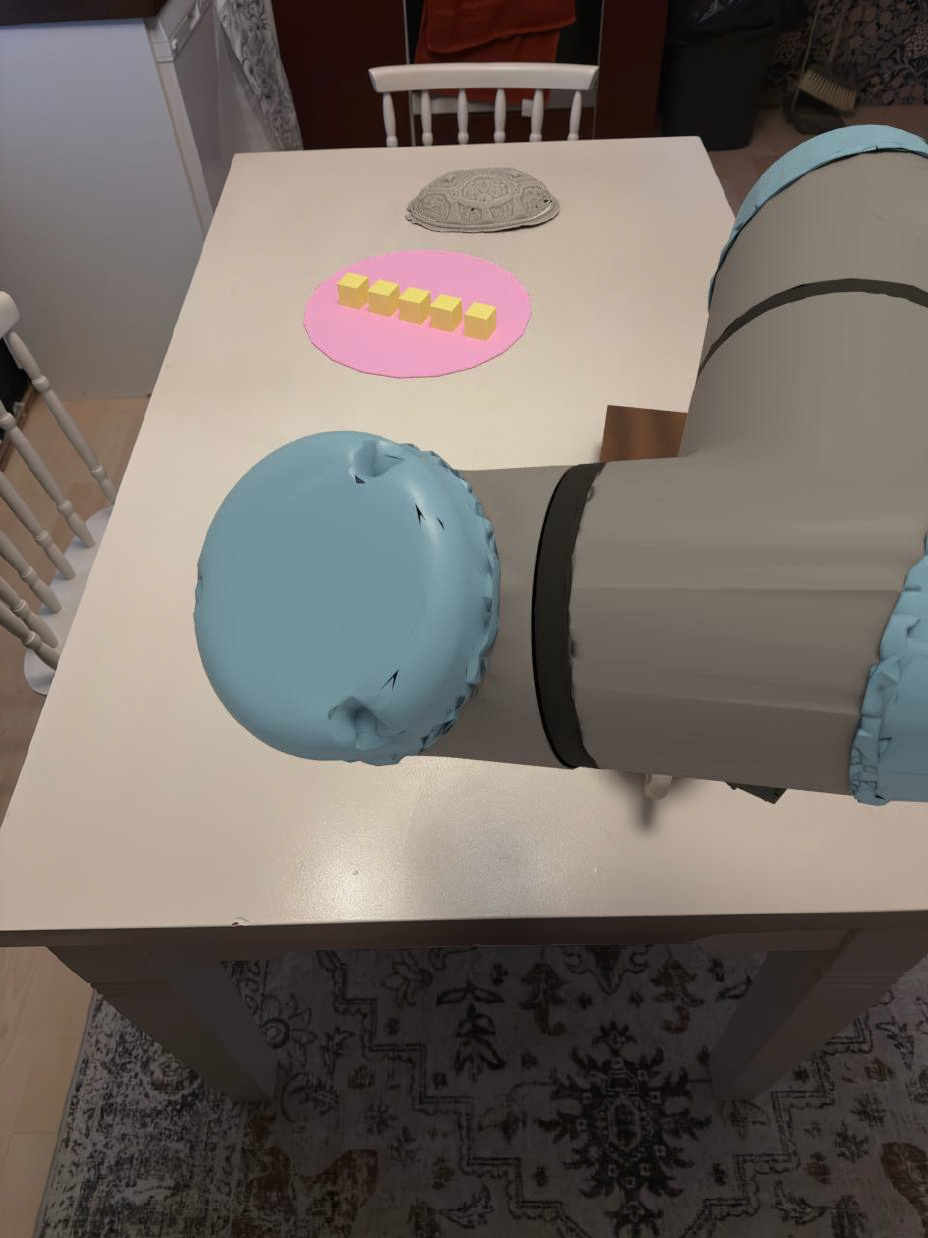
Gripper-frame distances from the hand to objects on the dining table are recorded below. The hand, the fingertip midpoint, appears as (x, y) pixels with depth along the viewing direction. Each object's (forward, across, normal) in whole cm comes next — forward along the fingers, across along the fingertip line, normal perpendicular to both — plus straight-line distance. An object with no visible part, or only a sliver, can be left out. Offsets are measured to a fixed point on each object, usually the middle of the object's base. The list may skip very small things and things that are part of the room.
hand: (655, 662), depth 51 cm
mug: (+23, +1, -9) cm, 24 cm away
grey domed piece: (+66, -79, +35) cm, 109 cm away
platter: (+48, -66, +14) cm, 83 cm away
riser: (+41, -19, +12) cm, 47 cm away
